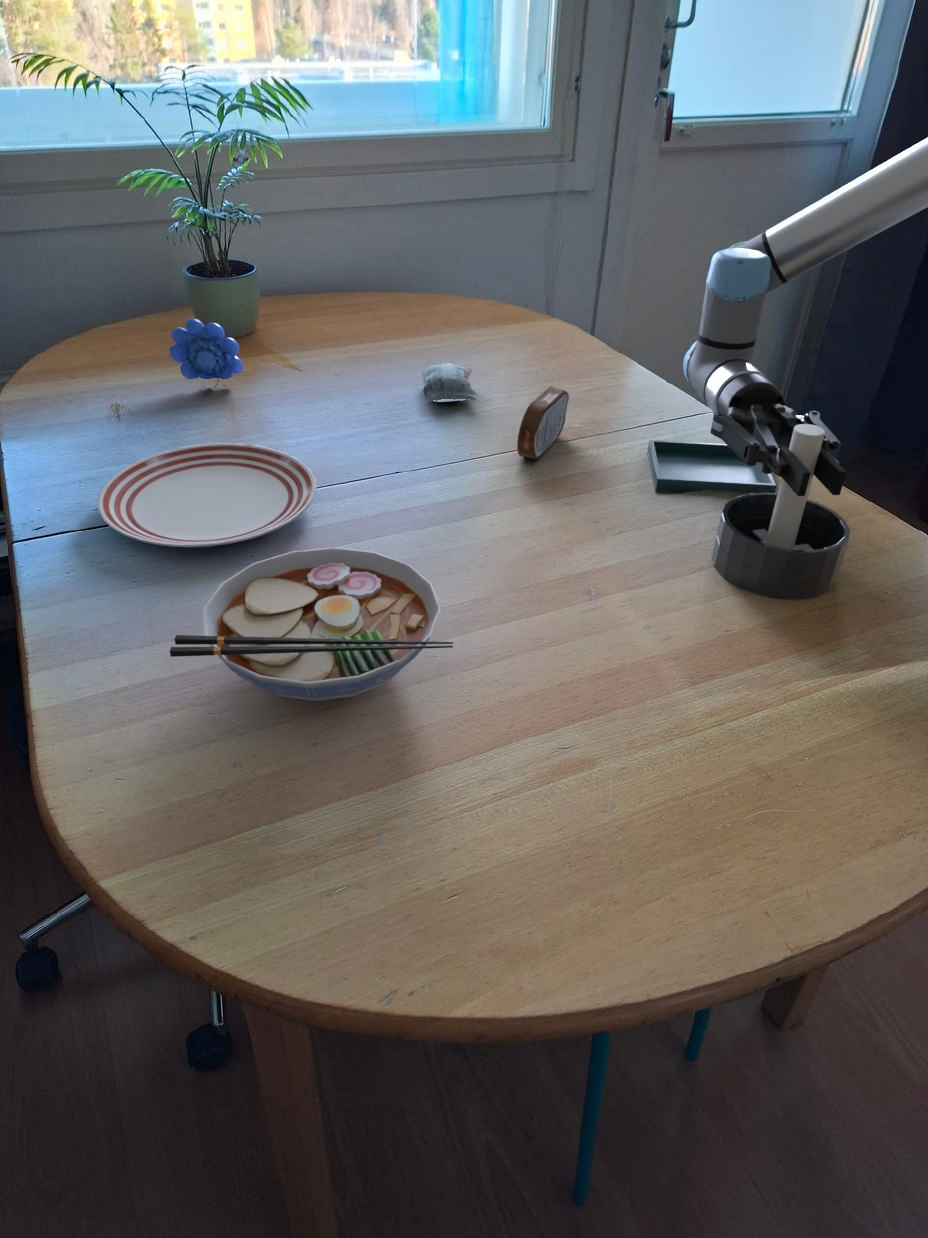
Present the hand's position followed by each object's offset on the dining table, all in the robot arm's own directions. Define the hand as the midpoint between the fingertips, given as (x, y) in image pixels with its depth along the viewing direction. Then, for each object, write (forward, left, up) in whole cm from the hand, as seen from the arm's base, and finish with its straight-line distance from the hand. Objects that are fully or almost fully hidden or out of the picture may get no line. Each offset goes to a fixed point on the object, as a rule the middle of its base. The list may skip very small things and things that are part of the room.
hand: (821, 483), depth 92 cm
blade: (+1, -5, -12) cm, 13 cm away
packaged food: (+45, -56, -15) cm, 74 cm away
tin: (+29, -37, -15) cm, 49 cm away
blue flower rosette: (+86, -53, -15) cm, 102 cm away
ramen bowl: (+50, +19, -15) cm, 55 cm away
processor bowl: (+1, -5, -15) cm, 15 cm away
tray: (+5, -31, -15) cm, 35 cm away
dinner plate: (+72, -12, -15) cm, 74 cm away
